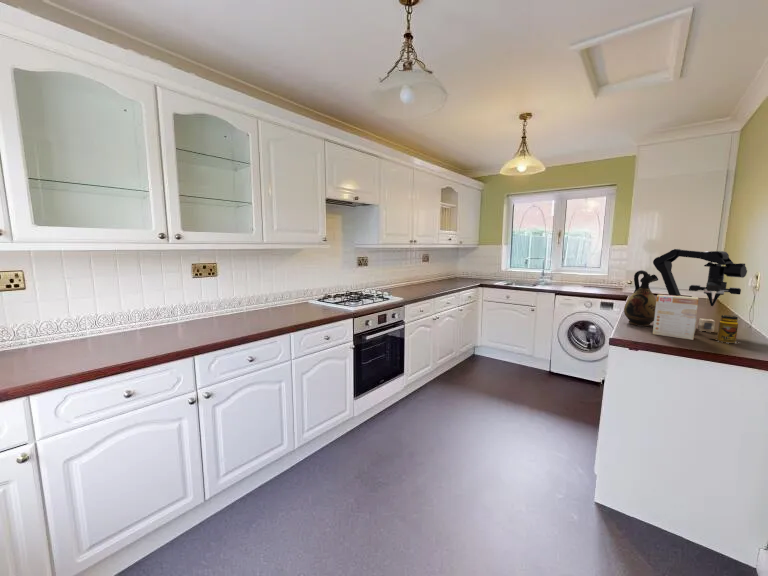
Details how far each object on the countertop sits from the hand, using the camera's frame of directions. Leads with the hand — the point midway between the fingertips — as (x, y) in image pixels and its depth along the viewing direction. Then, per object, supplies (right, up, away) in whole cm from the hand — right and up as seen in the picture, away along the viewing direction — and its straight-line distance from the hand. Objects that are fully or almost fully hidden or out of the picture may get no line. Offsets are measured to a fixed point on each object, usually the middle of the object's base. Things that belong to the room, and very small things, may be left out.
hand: (711, 306), depth 172 cm
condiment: (-12, -15, -18) cm, 27 cm away
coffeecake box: (-29, -14, -10) cm, 34 cm away
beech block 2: (-2, -13, +1) cm, 13 cm away
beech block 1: (-12, -13, 0) cm, 18 cm away
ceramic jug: (-26, -11, +15) cm, 32 cm away
